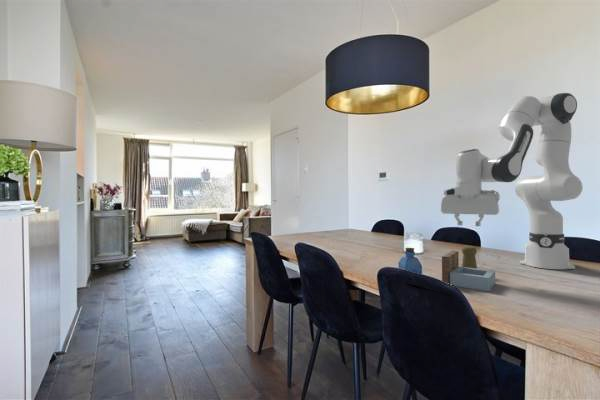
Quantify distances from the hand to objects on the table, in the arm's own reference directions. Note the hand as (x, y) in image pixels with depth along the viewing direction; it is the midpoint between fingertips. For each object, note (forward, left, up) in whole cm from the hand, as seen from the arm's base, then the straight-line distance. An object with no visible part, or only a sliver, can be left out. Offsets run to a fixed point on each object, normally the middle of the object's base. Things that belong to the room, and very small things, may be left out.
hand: (468, 225), depth 127 cm
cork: (0, 0, -19) cm, 19 cm away
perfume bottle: (+23, -15, -19) cm, 34 cm away
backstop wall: (+15, -3, -19) cm, 24 cm away
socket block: (+15, +4, -19) cm, 25 cm away
